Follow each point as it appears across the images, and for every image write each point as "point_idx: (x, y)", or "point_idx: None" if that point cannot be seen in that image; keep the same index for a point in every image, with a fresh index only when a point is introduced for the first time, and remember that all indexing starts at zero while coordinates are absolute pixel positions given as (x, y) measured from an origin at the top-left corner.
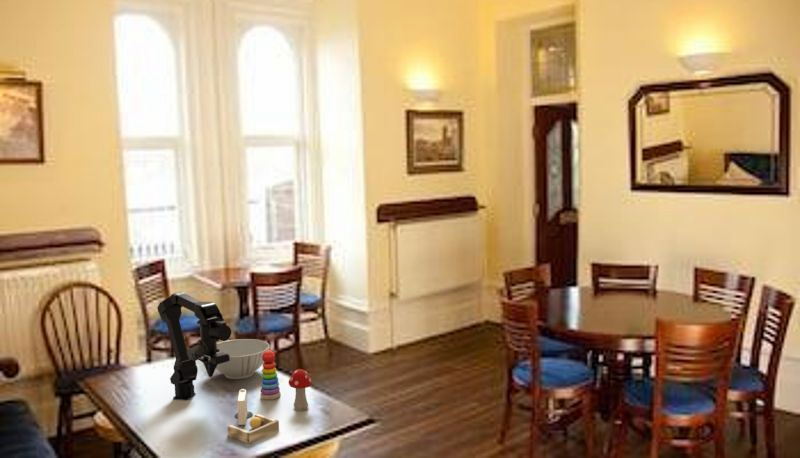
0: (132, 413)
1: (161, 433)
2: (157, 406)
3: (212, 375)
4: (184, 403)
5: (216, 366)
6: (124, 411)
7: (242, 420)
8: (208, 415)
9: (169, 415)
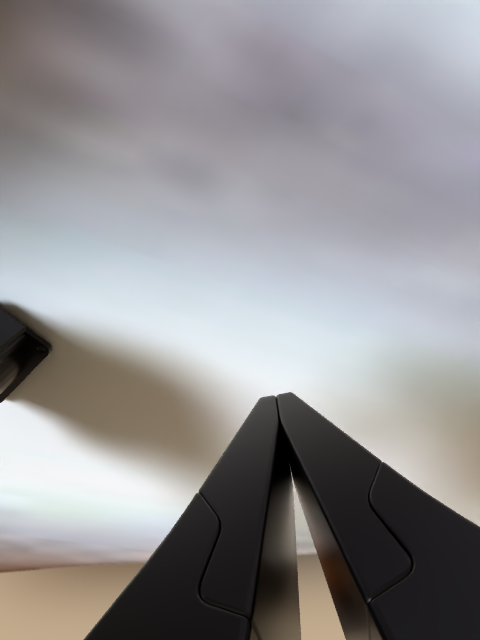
0: (119, 538)
1: None
2: (82, 467)
3: (297, 397)
4: (100, 371)
5: (420, 490)
6: (81, 551)
7: None
8: (362, 325)
9: None
